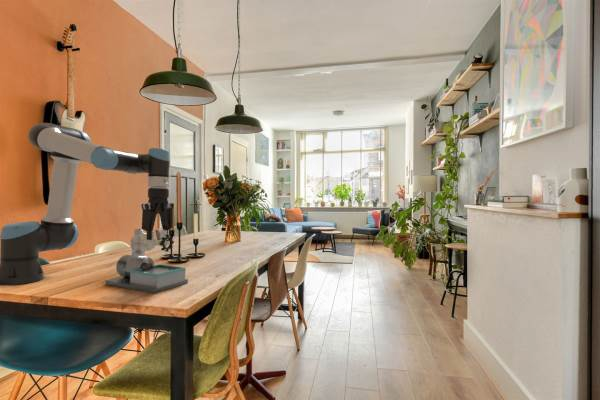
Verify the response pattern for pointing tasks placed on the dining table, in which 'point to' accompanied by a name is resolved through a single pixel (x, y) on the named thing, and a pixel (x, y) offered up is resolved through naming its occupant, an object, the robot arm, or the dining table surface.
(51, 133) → the robot arm
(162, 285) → the motor stand
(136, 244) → the plastic bottle
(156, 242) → the valve
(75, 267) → the dining table surface
